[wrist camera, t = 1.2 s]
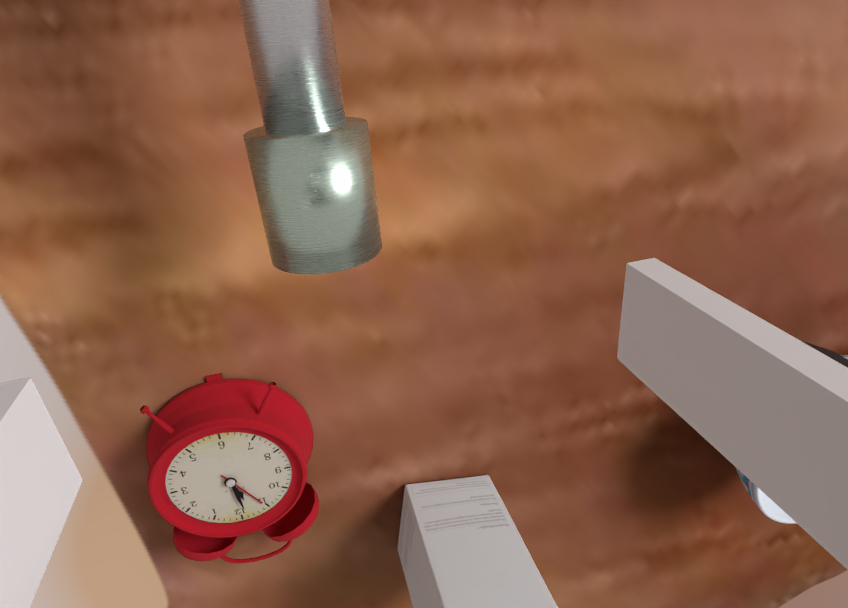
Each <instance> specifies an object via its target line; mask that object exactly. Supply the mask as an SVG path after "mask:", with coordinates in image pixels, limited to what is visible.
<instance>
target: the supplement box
mask: <svg viewBox="0 0 848 608" xmlns="http://www.w3.org/2000/svg"><path fill="white" fill-rule="evenodd" d="M397 549H398V553H399V557H400V560H401V564H402V568H403V571H404V575H405V579H406V583H407V586H408V590H409V594H410V597H411V601H412V605H413V608H558V606H557V605H556V603H555V601H554V599H553V597H552V596H551V594H550V592H549V590H548V588H547V586H546V584H545V582H544V580H543V578H542V577H541V575H540V573H539V571H538V569H537V567H536V565H535V563H534V561H533V559H532V557H531V555H530V553H529V551H528V549H527V548H526V546H525V543H524V542H523V540H522V538H521V536H520V534H519V532H518V530H517V528H516V526H515V524H514V522H513V520H512V518H511V517H510V515H509V513H508V511H507V509H506V507H505V505H504V503H503V501H502V499H501V498H500V496H499V494H498V492H497V490H496V488H495V486H494V484H493V483H492V481H491V479H490V477H489V475H483V476H475V477H467V478H458V479H449V480H441V481H432V482H423V483H415V484H406V485H405V489H404V497H403V506H402V514H401V522H400V530H399V538H398V548H397Z"/></svg>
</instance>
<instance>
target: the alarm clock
mask: <svg viewBox="0 0 848 608" xmlns="http://www.w3.org/2000/svg"><path fill="white" fill-rule="evenodd" d="M206 381H207V383H203V384H200V385H197V386H195V387H192V388H190V389H188V390H186V391H184V392H182V393H181V394H179V395H178V396H176V397H175V398H173V399H172V400H171V401H170V402H169V403H167V404H166V405H165V406H164V407H163V408H162V409H161V411H160V412H159V413H158V414H157V416H155V415H154V414H153V413H151V412H150V411H149V408H148V407H147V406H143V407H141V409H140V412H141V413H143V414H144V413H146V414H147V415H149V416H150V417H151V418H152V419H153V420H154V421H153V423H152V425H151V428H150V431H149V434H148V438H147V444H146V453H147V459H148V462H149V465H150V469H149V473H148V489H149V493H150V497H151V500H152V503H153V505H154V507H155V508H156V510H157V511H158V513H159V514H160V515H161V516H162V517H163V518H164V519H165V520H166V521H167V522H169V523H170V524H172V525H173V526H175V527H174V530H173V540H174V545H175V547H176V550H177V551H178V552H179V553H180V554H181V555H183V556H184V557H186V558H188V559H191V560H196V561H209V560H213V559H217V558H219V557H220V558H221V559H223V560H225V561H227V562H231V563H247V562H255V561H259V560H263V559H266V558H269V557H272V556H274V555H277V554H279V553H281V552H282V551H284V550H285V549H287V548H288V547H289V546H290V544H291V542H292V540H293V539H295V538H297V537H298V536H300V535H302V534H303V533H304V532H305V531H306V530H307V529H308V528H309V527H310V526H311V525H312V524H313V522H314V520H315V519H316V517H317V514H318V509H319V499H318V496H317V493H316V491H315V489H314V488H313V487H312V486H311V485H310V484H308V483H306V479H307V463H308V461H309V458H310V456H311V453H312V448H313V431H312V426H311V422H310V419H309V417H308V415H307V413H306V412H305V410H304V409H303V407H302V406H301V405H300V403H299V402H297V401H296V400H295V399H294V398H293V397H292V396H290V395H289V394H288V393H286V392H285V391H283V390H281V389H279V388H277V387H276V383H274V382H271V383H269V384H267V383H264V382H260V381H255V380H249V379H222V373H219V374H214V375H208V376H206ZM262 529H263V531H264V533H265V534H266V535H267V536H268V537H269V538H271V539H272V540H274V541H278V542H283V541H288V542H287V544H286V545H285V546H283V547H282V548H281V549H279V550H277V551H274V552H272V553H269V554H267V555H263V556H259V557H255V558H249V559H232V558H229V557H226V556H224V555H225V554H226V553H228V552H229V551H230V550H231V549H232V547H233V546H234V545H235V542H236V540H237V538H238V536H242V535H246V534H250V533H253V532H256V531H259V530H262Z"/></svg>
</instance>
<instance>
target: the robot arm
mask: <svg viewBox="0 0 848 608" xmlns="http://www.w3.org/2000/svg"><path fill="white" fill-rule="evenodd" d="M617 359H618V360H619V361H620V362H621V363H623V364H624V365H625V366H626V367H627V368H628V369H629V370H630V371H631V372H632V373H634V374H635V375H636V376H637V377H638V378H639V379H640V380H641V381H642V382H643V383H644V384H646V385H647V386H648V387H649V388H650V389H651V390H652V391H653V392H654V393H655V394H656V395H658V396H659V397H660V398H661V399H662V400H663V401H664V402H665V403H666V404H667V405H668V406H670V407H671V408H672V409H673V410H674V411H675V412H676V413H677V414H678V415H679V416H680V417H682V418H683V419H684V420H685V421H686V422H687V423H688V424H689V425H690V426H691V427H692V428H694V429H695V430H696V431H697V432H698V433H699V434H700V435H701V436H702V437H703V438H704V439H706V440H707V441H708V442H709V443H710V444H711V445H712V446H713V447H714V448H715V449H716V450H718V451H719V452H720V453H721V454H722V455H723V456H724V457H725V458H726V459H727V460H728V461H730V462H731V463H732V464H733V465H734V466H735V467H736V468H737V469H738V470H739V471H741V472H742V473H743V474H744V475H745V476H746V477H747V478H748V479H749V480H750V481H751V482H753V483H754V484H755V485H756V486H757V487H758V488H759V489H760V490H761V491H762V492H763V493H765V494H766V495H767V496H768V497H769V498H770V499H771V500H772V501H773V502H774V503H775V504H777V505H778V506H779V507H780V508H781V509H782V510H783V511H784V512H785V513H786V514H787V515H789V516H790V517H791V518H792V519H793V520H794V521H795V522H796V523H797V524H798V525H799V526H801V527H802V528H803V529H804V530H805V531H806V532H807V533H808V534H809V535H810V536H811V537H813V538H814V539H815V540H816V541H817V542H818V543H819V544H820V545H821V546H822V547H823V548H825V549H826V550H827V551H828V552H829V553H830V554H831V555H832V556H833V557H834V558H835V559H837V560H838V561H839V562H840V563H841V564H842V565H843V566H844V567H845V568H846V569H848V359H846V358H844V357H842V356H841V355H839V354H837V353H835V352H833V351H830V350H827V349H824V348H821V347H818V346H816V345H813V344H810V343H807V342H804V341H800V340H798V339H796V338H794V337H793V336H791V335H789V334H787V333H786V332H784V331H782V330H780V329H779V328H777V327H775V326H773V325H772V324H770V323H768V322H766V321H765V320H763V319H761V318H759V317H758V316H756V315H754V314H752V313H751V312H749V311H747V310H745V309H743V308H742V307H740V306H738V305H736V304H735V303H733V302H731V301H729V300H728V299H726V298H724V297H722V296H721V295H719V294H717V293H715V292H714V291H712V290H710V289H708V288H707V287H705V286H703V285H701V284H700V283H698V282H696V281H694V280H692V279H691V278H689V277H687V276H685V275H684V274H682V273H680V272H678V271H677V270H675V269H673V268H671V267H670V266H668V265H666V264H664V263H663V262H661V261H659V260H657V259H656V258H652V259H646V260H641V261H636V262H631V263H627V265H626V275H625V285H624V295H623V305H622V314H621V324H620V334H619V344H618V353H617ZM82 481H83V480H82V478H81V476H80V474H79V472H78V470H77V468H76V466H75V464H74V462H73V460H72V458H71V456H70V454H69V452H68V450H67V448H66V446H65V444H64V442H63V440H62V438H61V436H60V434H59V432H58V430H57V429H56V426H55V424H54V423H53V420H52V419H51V417H50V414H49V413H48V411H47V409H46V407H45V405H44V403H43V401H42V399H41V397H40V395H39V393H38V391H37V389H36V387H35V385H34V383H33V381H32V379H31V377H30V378H25V379H19V380H15V381H10V382H4V383H0V608H30V606H31V604H32V601H33V599H34V596H35V593H36V592H37V589H38V587H39V584H40V582H41V580H42V577H43V575H44V572H45V570H46V567H47V565H48V563H49V560H50V558H51V555H52V553H53V550H54V548H55V546H56V543H57V541H58V538H59V536H60V534H61V531H62V529H63V527H64V524H65V522H66V519H67V517H68V514H69V512H70V510H71V507H72V505H73V502H74V500H75V498H76V495H77V493H78V490H79V488H80V485H81V483H82Z"/></svg>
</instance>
